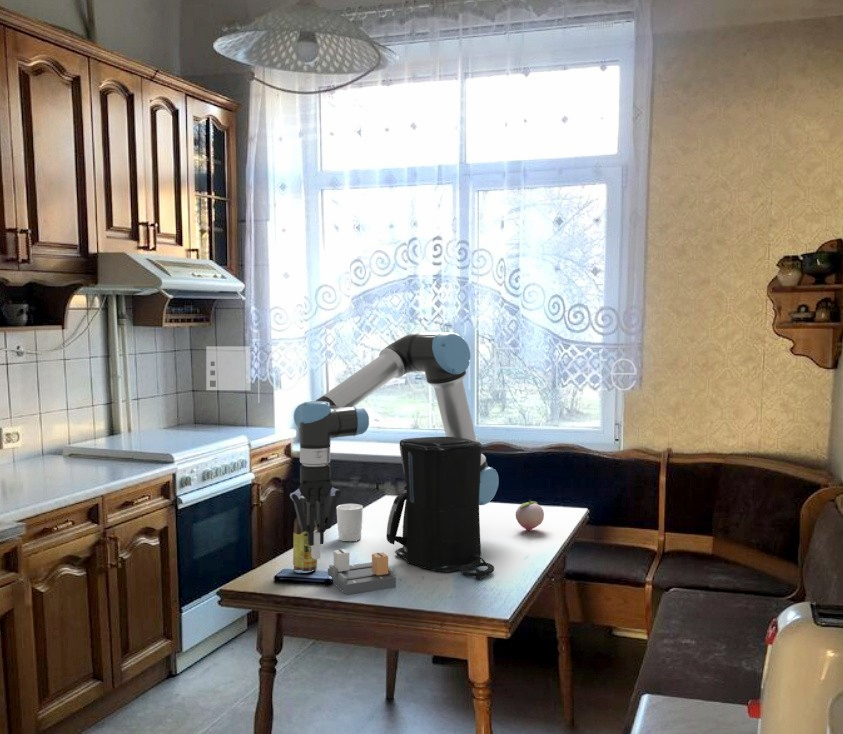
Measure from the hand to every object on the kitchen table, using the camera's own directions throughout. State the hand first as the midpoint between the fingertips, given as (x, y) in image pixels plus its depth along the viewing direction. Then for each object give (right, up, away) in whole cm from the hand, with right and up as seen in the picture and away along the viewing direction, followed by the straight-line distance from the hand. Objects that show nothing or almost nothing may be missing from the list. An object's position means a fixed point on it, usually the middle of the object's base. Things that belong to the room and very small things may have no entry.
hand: (315, 557), depth 199 cm
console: (+11, -7, +2) cm, 13 cm away
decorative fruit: (+61, -4, +50) cm, 79 cm away
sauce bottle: (-4, -7, +11) cm, 14 cm away
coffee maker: (+31, -6, +17) cm, 36 cm away
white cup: (+5, -5, +42) cm, 42 cm away
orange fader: (+16, -4, 0) cm, 17 cm away
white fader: (+6, -4, +3) cm, 8 cm away
